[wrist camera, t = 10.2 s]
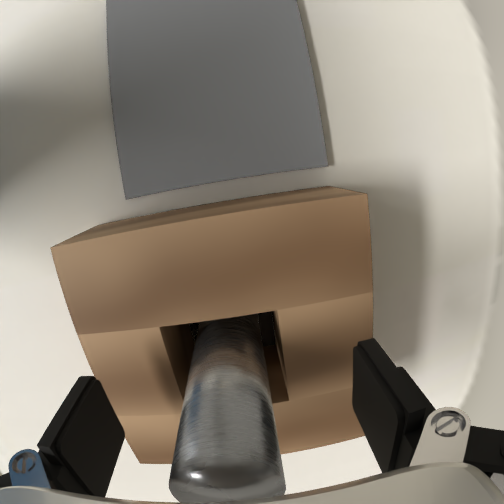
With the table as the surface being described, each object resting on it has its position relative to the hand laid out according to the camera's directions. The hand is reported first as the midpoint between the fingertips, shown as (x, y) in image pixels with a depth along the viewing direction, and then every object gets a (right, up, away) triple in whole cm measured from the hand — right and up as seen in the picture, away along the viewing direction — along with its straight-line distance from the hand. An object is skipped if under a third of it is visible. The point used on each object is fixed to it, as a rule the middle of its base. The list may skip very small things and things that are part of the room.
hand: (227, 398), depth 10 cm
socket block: (0, +2, +7) cm, 7 cm away
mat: (-1, +14, +3) cm, 15 cm away
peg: (0, +2, +7) cm, 7 cm away
